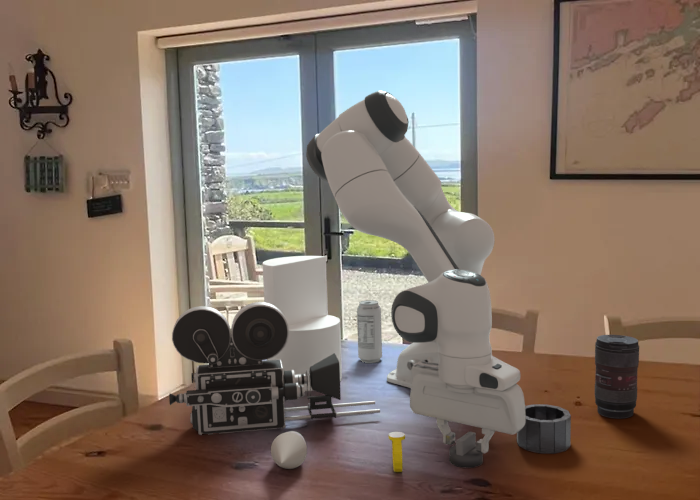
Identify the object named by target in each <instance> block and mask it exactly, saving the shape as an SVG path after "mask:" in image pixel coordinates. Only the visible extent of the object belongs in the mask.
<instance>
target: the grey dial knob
mask: <svg viewBox="0 0 700 500" xmlns="http://www.w3.org/2000/svg"><path fill="white" fill-rule="evenodd" d="M476 435H477V434H476V432H475V431H468V432H467V433H465V434H463V435H461V437H459V438H457V439H456V441H455V444H453V445H451V447H449V451H448V453H449V460H448V461H449V463H450V464H451V465H453V466H454V467H457V468H464V469H471V468H477V467H480V466H481V465H482V464H483V463H484V453H481V452H477V451H476V448H477V447H476V442H477V438H476V437H477V436H476Z"/></svg>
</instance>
